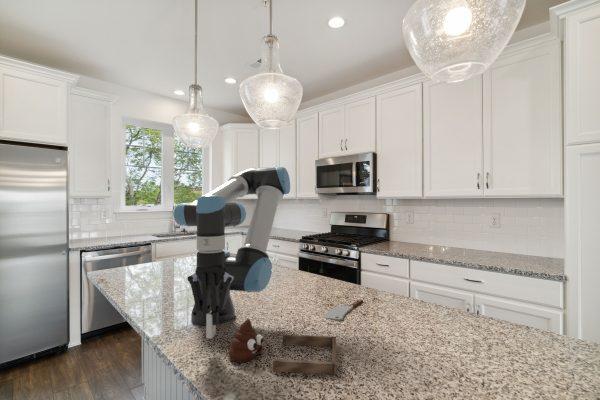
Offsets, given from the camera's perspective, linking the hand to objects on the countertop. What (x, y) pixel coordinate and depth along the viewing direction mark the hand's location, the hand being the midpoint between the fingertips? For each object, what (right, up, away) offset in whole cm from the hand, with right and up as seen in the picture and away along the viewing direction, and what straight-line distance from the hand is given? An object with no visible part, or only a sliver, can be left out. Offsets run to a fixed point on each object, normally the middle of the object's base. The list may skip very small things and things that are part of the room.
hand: (211, 336), depth 81 cm
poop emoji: (+10, -5, -1) cm, 11 cm away
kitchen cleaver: (+42, -5, +32) cm, 53 cm away
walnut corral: (+26, -4, -3) cm, 27 cm away
